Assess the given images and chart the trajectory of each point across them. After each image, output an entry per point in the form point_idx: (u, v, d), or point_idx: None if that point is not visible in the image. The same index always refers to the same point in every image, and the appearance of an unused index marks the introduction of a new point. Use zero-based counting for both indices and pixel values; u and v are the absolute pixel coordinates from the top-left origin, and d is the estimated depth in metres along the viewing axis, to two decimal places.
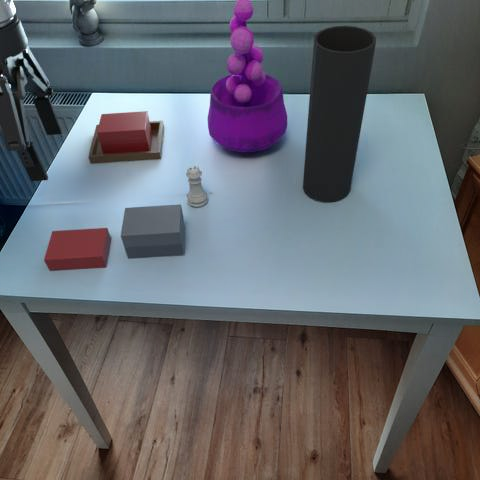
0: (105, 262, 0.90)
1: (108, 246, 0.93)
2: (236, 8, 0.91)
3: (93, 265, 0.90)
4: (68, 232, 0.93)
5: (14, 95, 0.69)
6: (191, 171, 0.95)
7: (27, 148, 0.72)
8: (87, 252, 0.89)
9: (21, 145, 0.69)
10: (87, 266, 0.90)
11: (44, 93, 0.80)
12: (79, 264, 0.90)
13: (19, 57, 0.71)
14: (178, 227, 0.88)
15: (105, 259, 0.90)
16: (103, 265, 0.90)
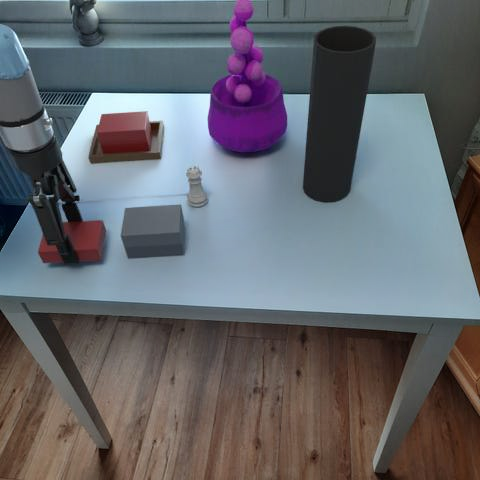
0: (100, 255, 0.89)
1: (103, 239, 0.92)
2: (236, 8, 0.91)
3: (88, 258, 0.88)
4: (63, 224, 0.91)
5: (51, 200, 0.79)
6: (191, 171, 0.95)
7: (63, 241, 0.83)
8: (81, 244, 0.87)
9: (60, 242, 0.80)
10: (82, 259, 0.89)
11: (71, 199, 0.88)
12: None
13: None
14: (178, 227, 0.88)
15: (100, 252, 0.89)
16: (98, 258, 0.89)
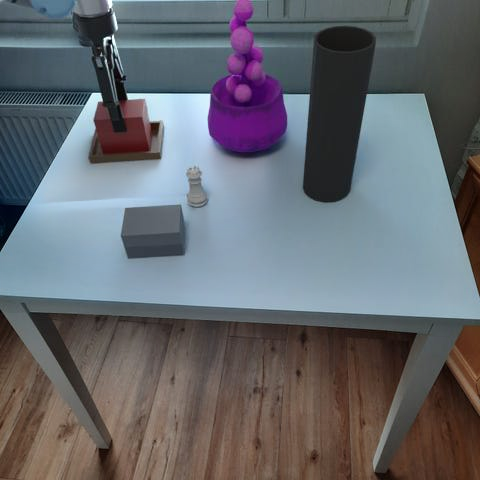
0: (144, 124, 1.06)
1: (146, 114, 1.09)
2: (236, 8, 0.91)
3: (134, 127, 1.06)
4: None
5: (107, 67, 0.96)
6: (191, 171, 0.95)
7: (116, 106, 1.01)
8: (129, 114, 1.05)
9: (114, 104, 0.98)
10: (129, 128, 1.06)
11: (120, 77, 1.06)
12: None
13: (108, 38, 0.97)
14: (178, 227, 0.88)
15: (144, 122, 1.06)
16: (142, 127, 1.06)
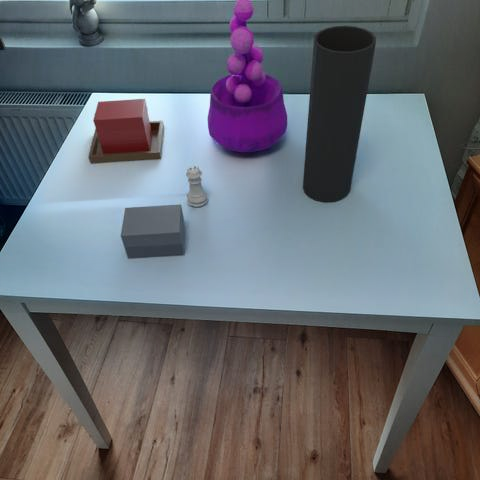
0: (144, 124, 1.06)
1: (146, 114, 1.09)
2: (236, 8, 0.91)
3: (134, 127, 1.06)
4: (112, 102, 1.09)
5: None
6: (191, 171, 0.95)
7: None
8: (129, 114, 1.05)
9: None
10: (129, 128, 1.06)
11: None
12: (122, 125, 1.06)
13: None
14: (178, 227, 0.88)
15: (144, 122, 1.06)
16: (142, 127, 1.06)
